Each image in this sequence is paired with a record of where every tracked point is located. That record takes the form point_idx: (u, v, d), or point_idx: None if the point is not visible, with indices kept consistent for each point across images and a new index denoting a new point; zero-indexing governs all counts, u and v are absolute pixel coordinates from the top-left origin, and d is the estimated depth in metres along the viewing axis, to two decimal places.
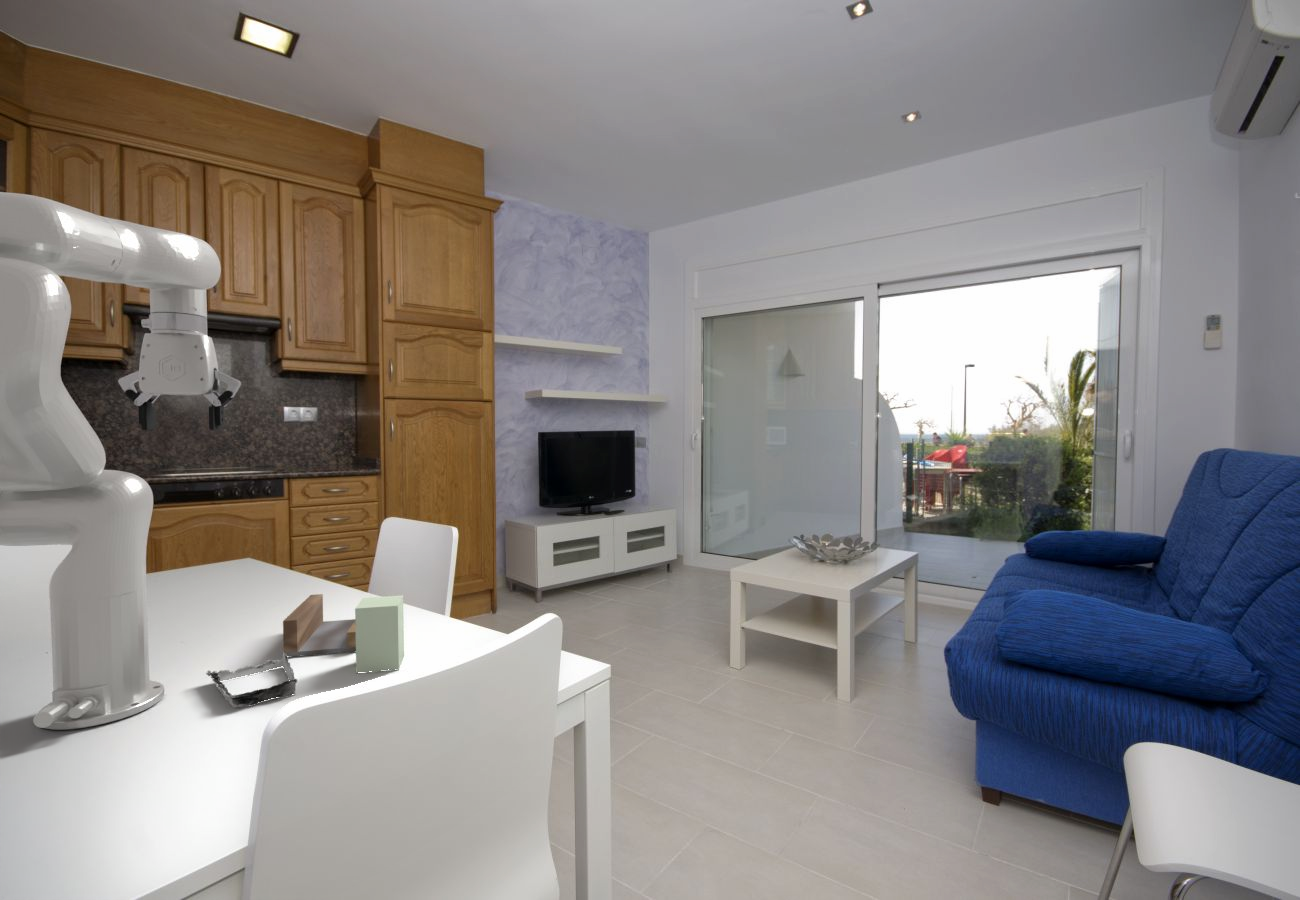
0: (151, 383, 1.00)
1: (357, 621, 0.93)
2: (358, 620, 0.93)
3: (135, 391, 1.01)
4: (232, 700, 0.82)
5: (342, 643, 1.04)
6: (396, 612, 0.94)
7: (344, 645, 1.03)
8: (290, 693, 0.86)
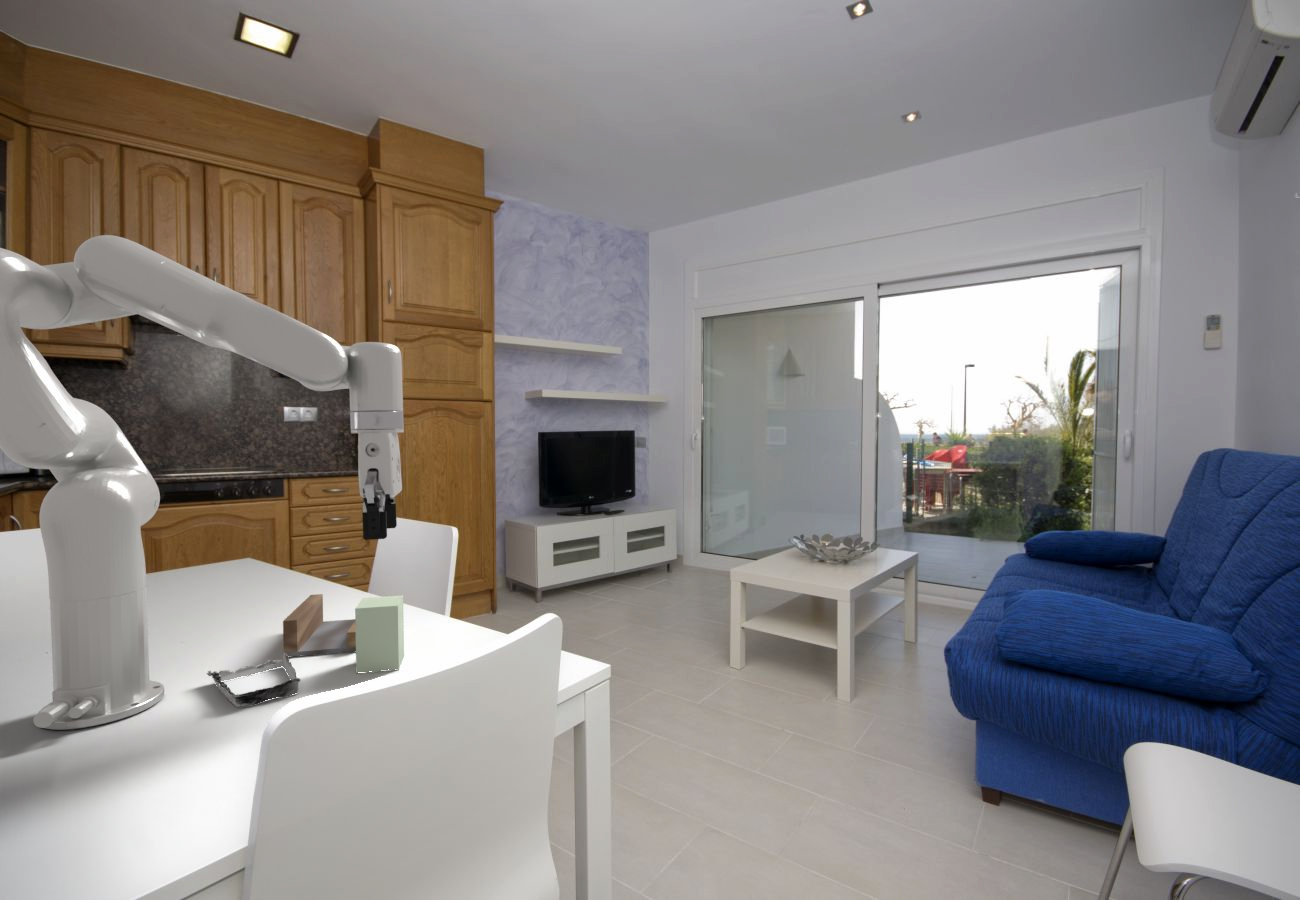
0: (395, 486, 0.94)
1: (357, 621, 0.93)
2: (358, 620, 0.93)
3: None
4: (235, 699, 0.82)
5: (342, 643, 1.04)
6: (396, 612, 0.94)
7: (344, 645, 1.03)
8: (293, 692, 0.86)
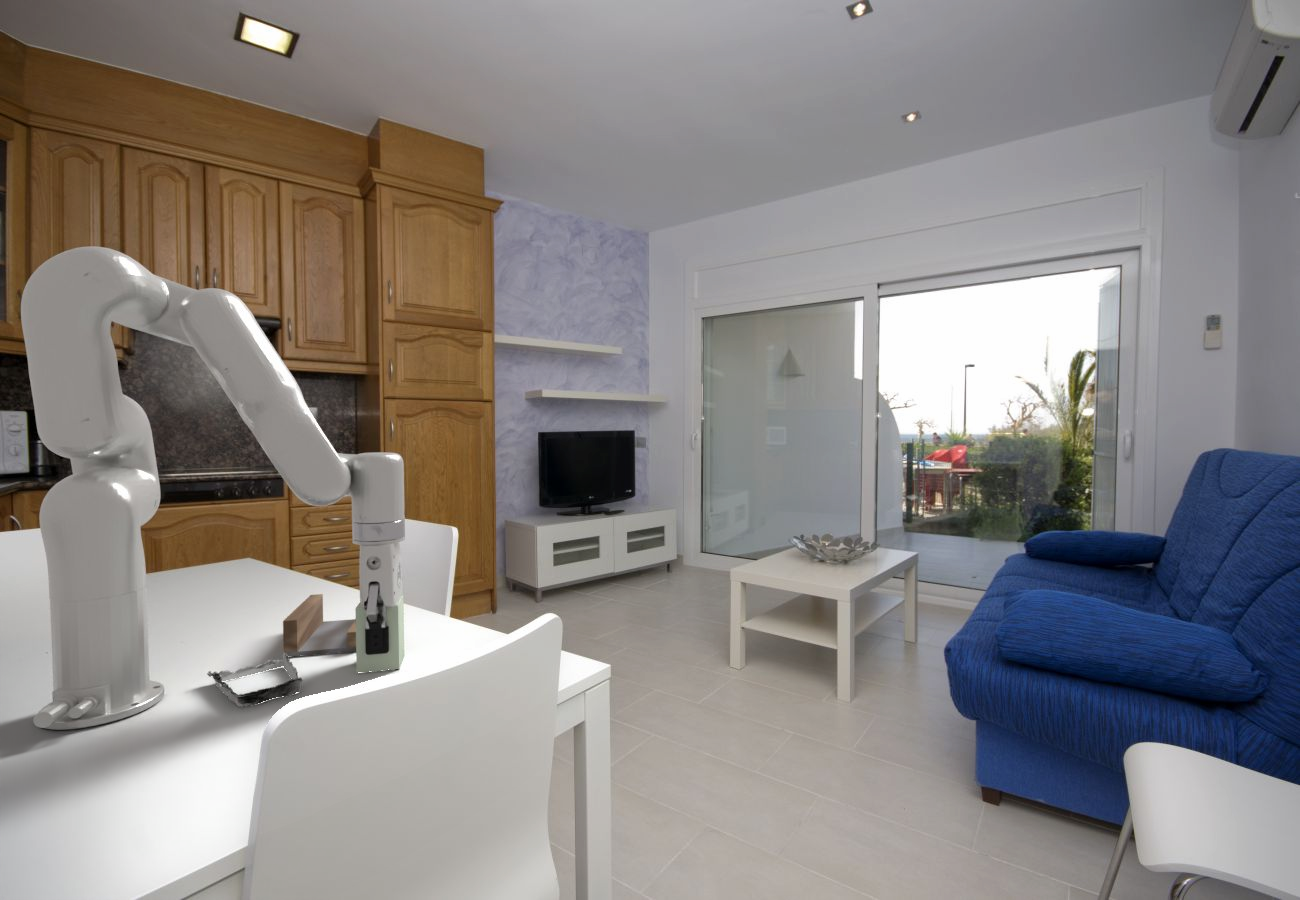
0: (396, 596, 0.94)
1: (357, 621, 0.93)
2: (358, 620, 0.93)
3: None
4: (238, 699, 0.82)
5: (342, 643, 1.04)
6: (396, 612, 0.94)
7: (344, 645, 1.03)
8: (295, 692, 0.86)
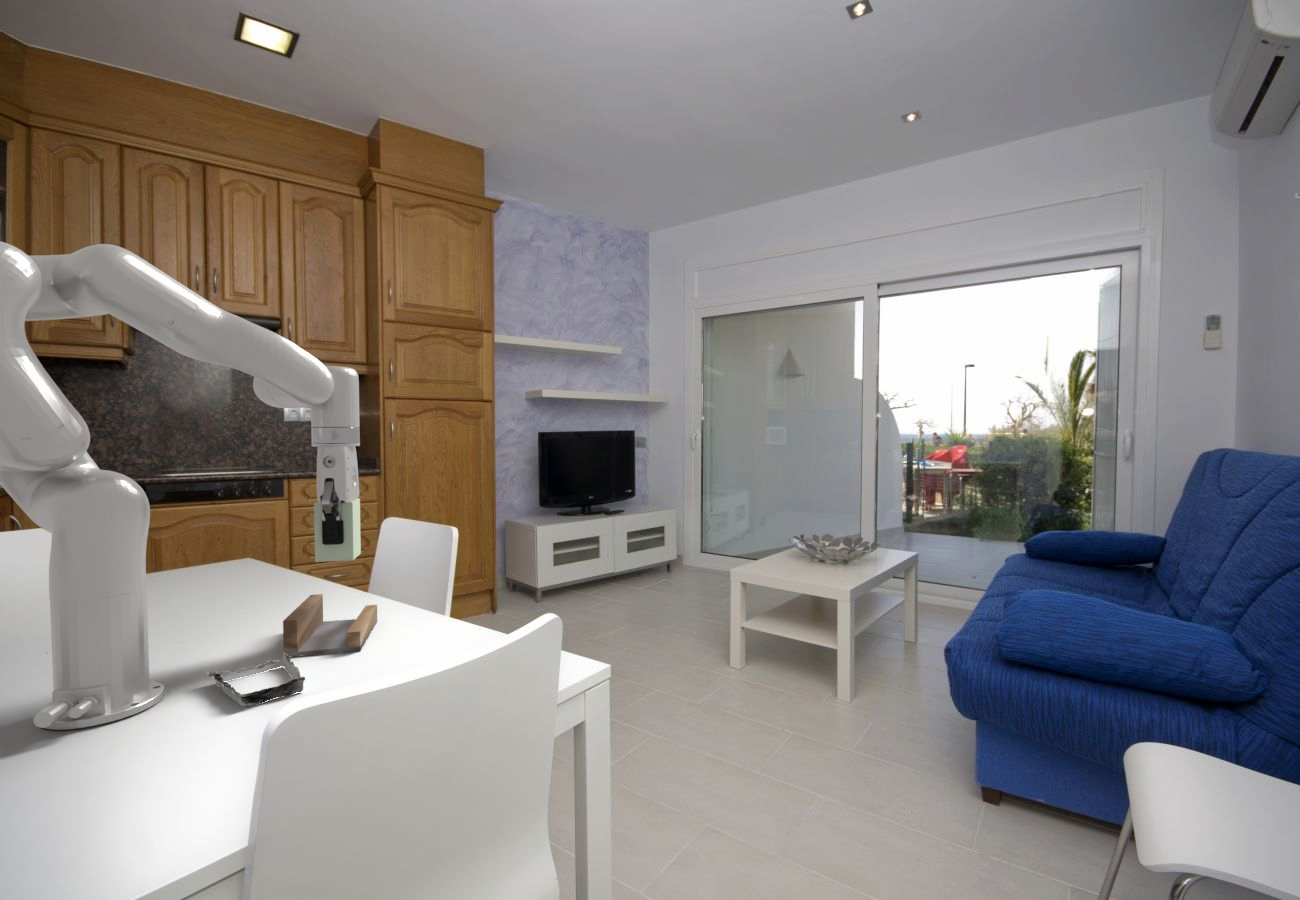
0: (350, 493, 1.06)
1: (316, 515, 1.04)
2: (316, 514, 1.04)
3: None
4: (241, 699, 0.82)
5: (342, 643, 1.04)
6: (351, 508, 1.06)
7: (344, 645, 1.03)
8: (298, 691, 0.86)
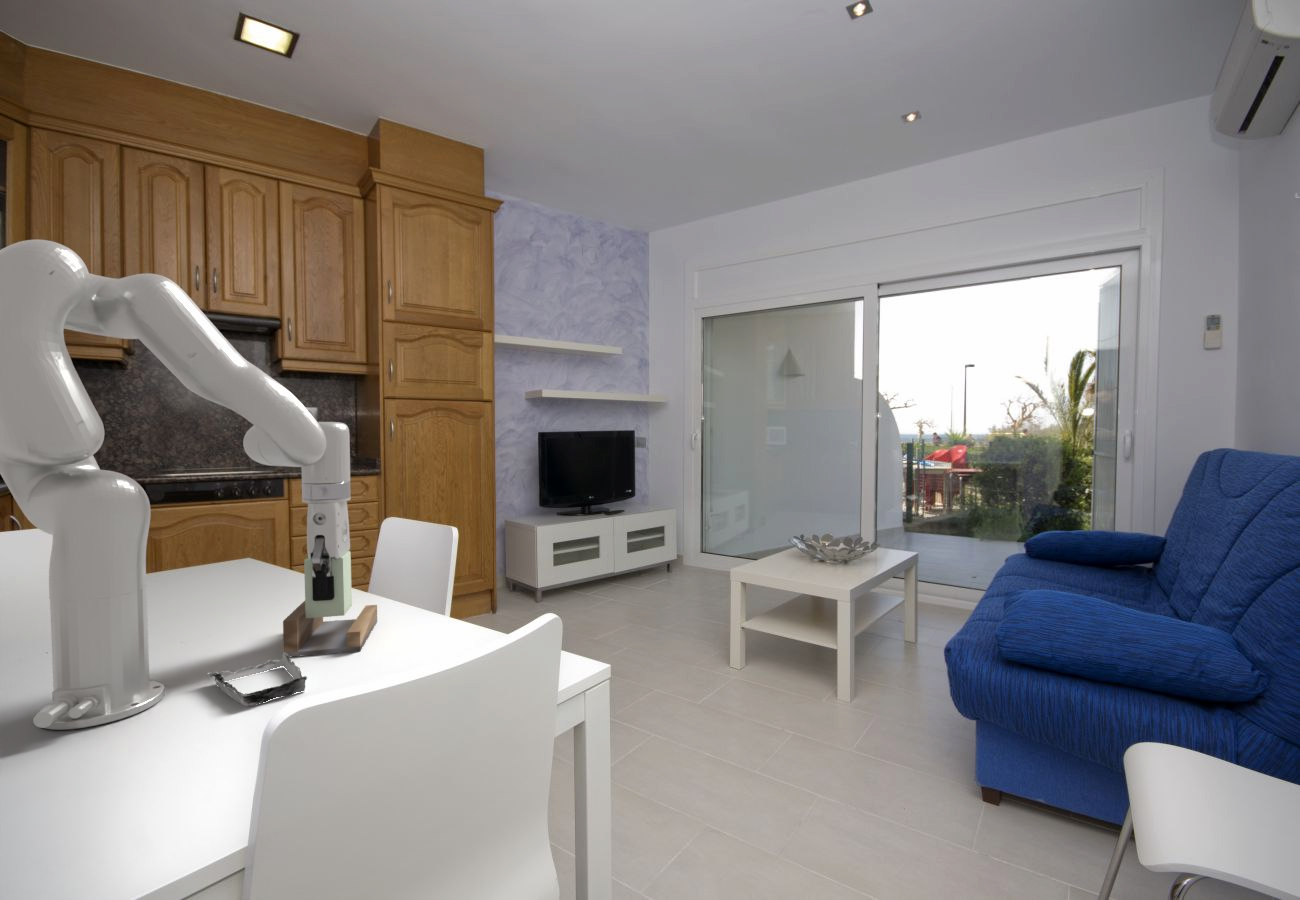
0: (341, 549, 1.06)
1: (306, 571, 1.05)
2: (307, 570, 1.05)
3: None
4: (243, 699, 0.82)
5: (342, 643, 1.04)
6: (341, 563, 1.06)
7: (344, 645, 1.03)
8: (300, 691, 0.86)
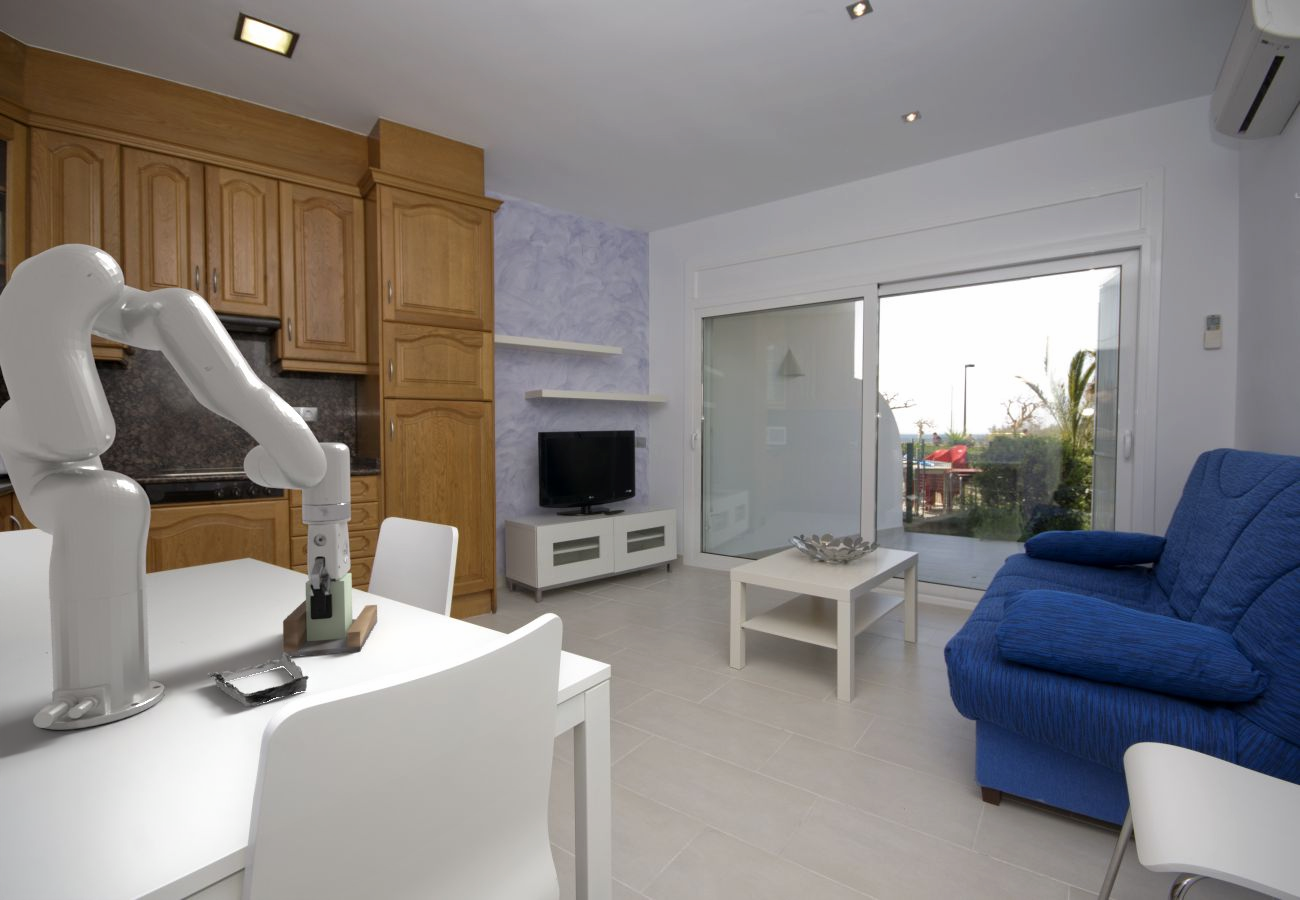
0: (341, 570, 1.06)
1: (307, 594, 1.05)
2: (308, 593, 1.05)
3: None
4: (245, 699, 0.82)
5: (342, 643, 1.04)
6: (343, 586, 1.06)
7: (344, 645, 1.03)
8: (301, 690, 0.87)
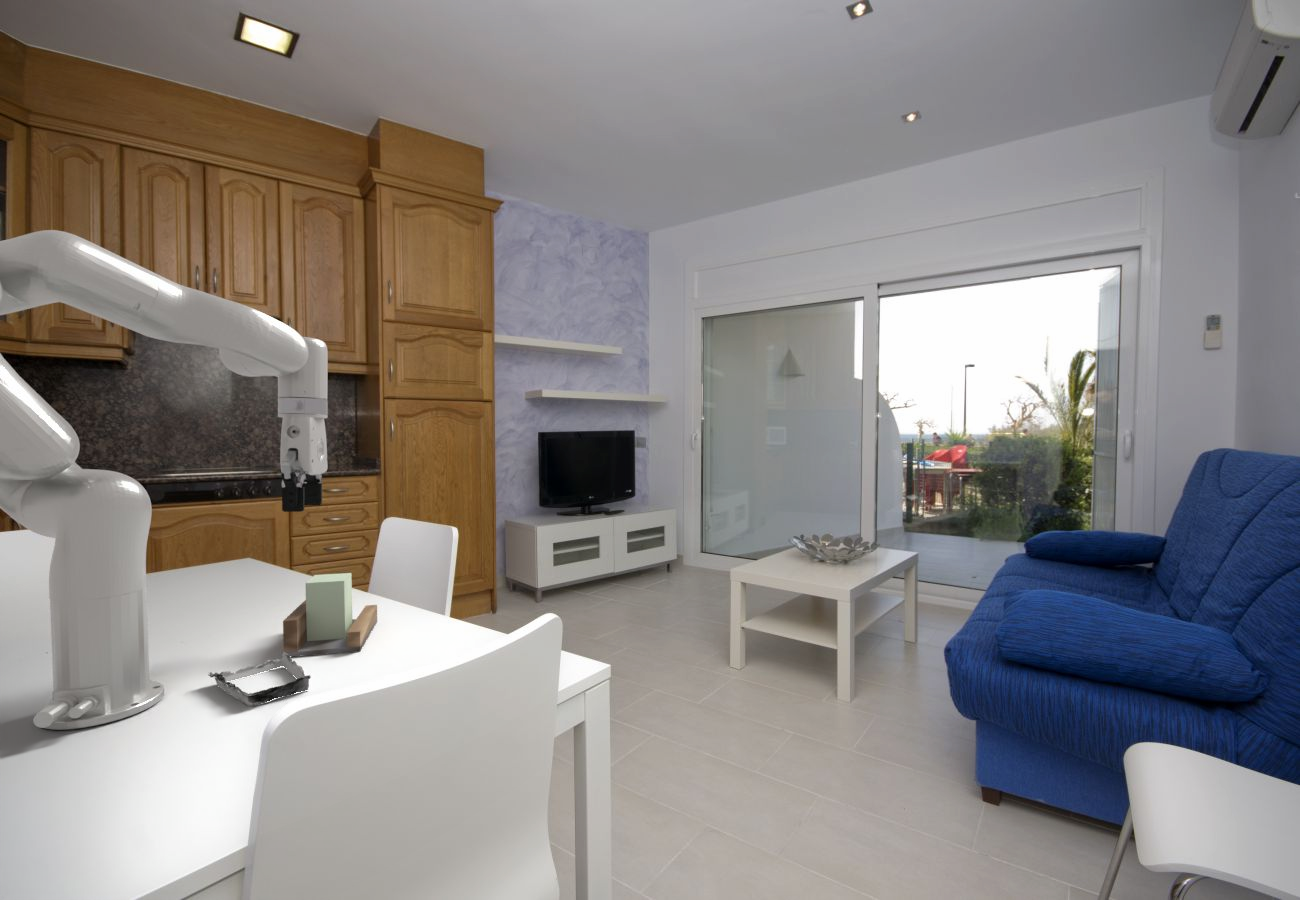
0: (315, 465, 1.05)
1: (307, 594, 1.05)
2: (308, 593, 1.05)
3: None
4: (248, 698, 0.82)
5: (342, 643, 1.04)
6: (343, 586, 1.06)
7: (344, 645, 1.03)
8: (303, 689, 0.87)
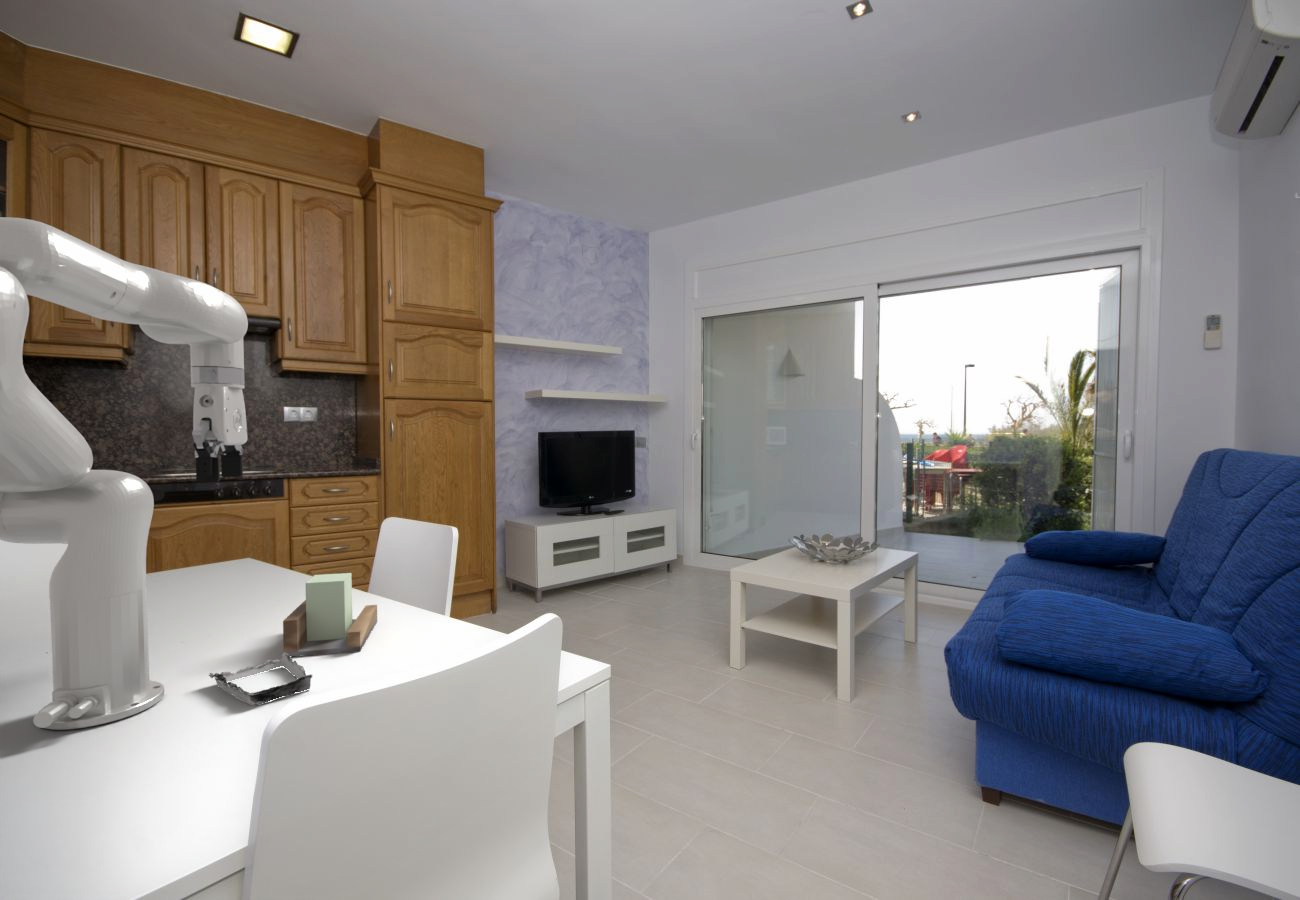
0: (231, 435, 1.04)
1: (307, 594, 1.05)
2: (308, 593, 1.05)
3: None
4: (250, 698, 0.82)
5: (342, 643, 1.04)
6: (343, 586, 1.06)
7: (344, 645, 1.03)
8: (305, 689, 0.87)
